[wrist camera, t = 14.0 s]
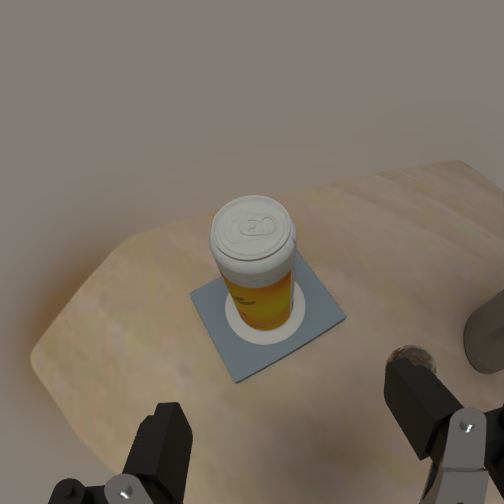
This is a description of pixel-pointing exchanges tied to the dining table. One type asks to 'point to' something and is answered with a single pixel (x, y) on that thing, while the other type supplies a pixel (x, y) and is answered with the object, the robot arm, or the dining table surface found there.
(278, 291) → the beer can
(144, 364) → the dining table surface
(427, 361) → the decorative disc
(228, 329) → the board
